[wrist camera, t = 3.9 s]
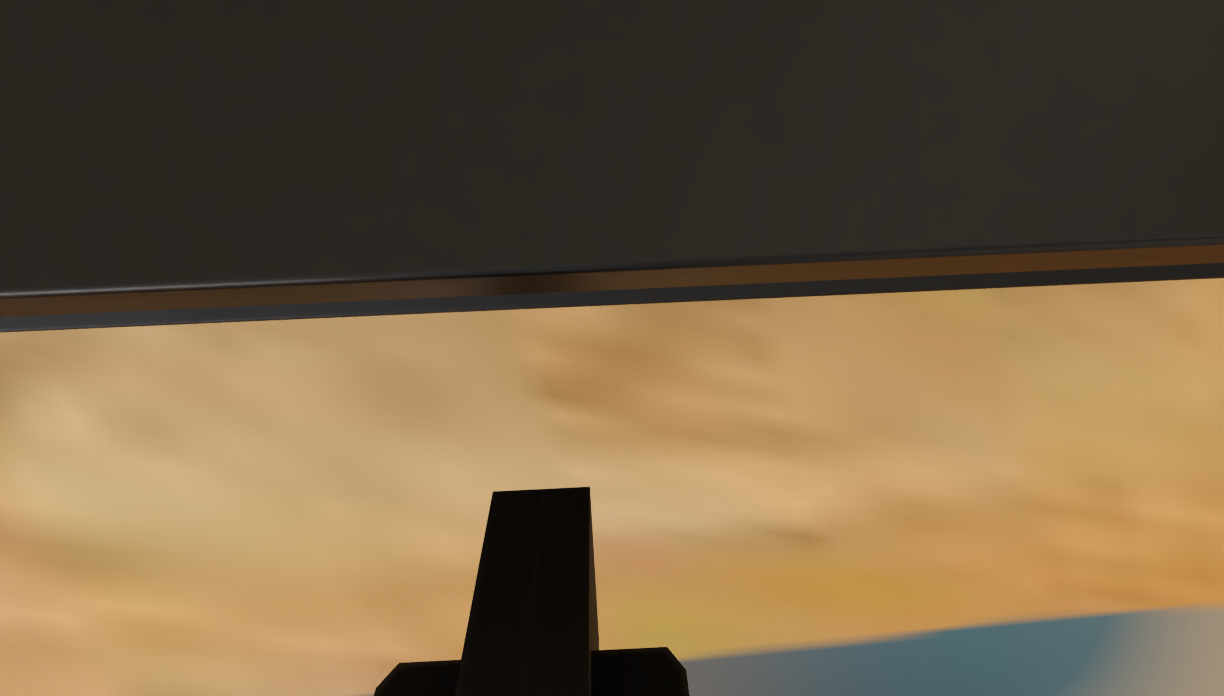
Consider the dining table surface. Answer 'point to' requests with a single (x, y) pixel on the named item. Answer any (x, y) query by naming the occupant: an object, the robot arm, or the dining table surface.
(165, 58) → the laptop screen
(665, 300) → the laptop
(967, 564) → the dining table surface
